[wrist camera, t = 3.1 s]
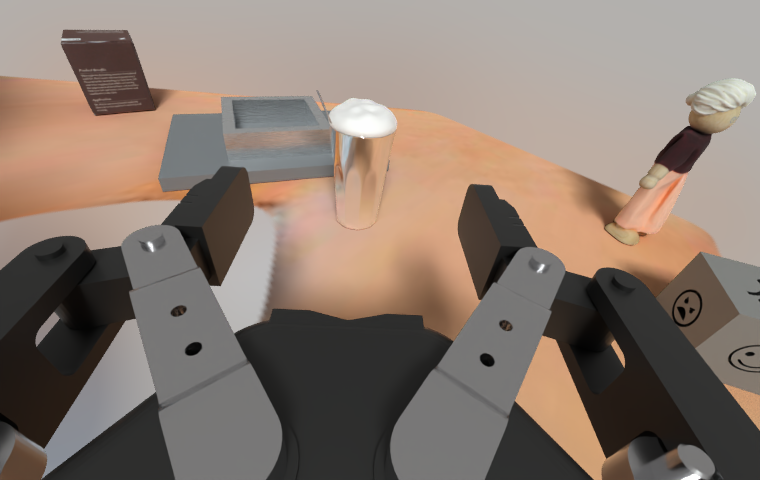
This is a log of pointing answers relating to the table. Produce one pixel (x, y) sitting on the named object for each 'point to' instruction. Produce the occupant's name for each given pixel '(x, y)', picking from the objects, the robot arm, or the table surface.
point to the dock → (249, 142)
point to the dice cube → (720, 316)
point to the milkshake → (360, 158)
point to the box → (107, 70)
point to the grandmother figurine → (680, 158)
